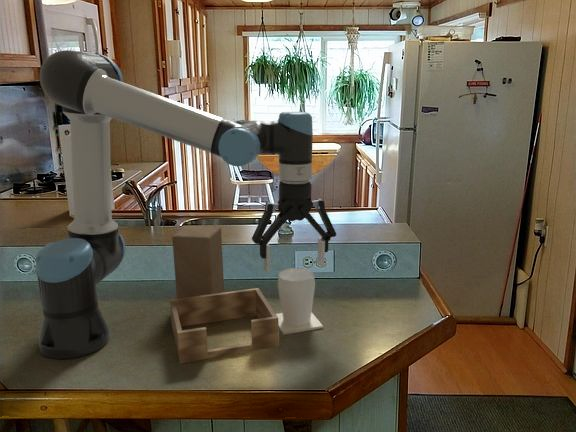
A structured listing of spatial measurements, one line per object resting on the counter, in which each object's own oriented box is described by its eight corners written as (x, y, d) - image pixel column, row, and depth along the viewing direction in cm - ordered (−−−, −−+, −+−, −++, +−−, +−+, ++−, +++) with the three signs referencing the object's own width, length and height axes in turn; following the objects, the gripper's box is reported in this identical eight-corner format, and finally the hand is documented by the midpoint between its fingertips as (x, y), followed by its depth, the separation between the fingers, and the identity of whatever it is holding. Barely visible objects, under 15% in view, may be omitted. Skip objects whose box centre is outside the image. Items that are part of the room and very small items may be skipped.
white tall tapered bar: (102, 204, 252) (93, 120, 242) (114, 209, 242) (105, 122, 231) (59, 211, 239) (48, 123, 229) (70, 217, 229) (59, 125, 219)
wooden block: (212, 311, 136) (208, 237, 131) (176, 308, 138) (171, 235, 133) (225, 295, 146) (221, 226, 140) (191, 293, 147) (186, 225, 142)
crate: (180, 363, 112) (177, 333, 110) (172, 326, 128) (169, 299, 126) (279, 346, 118) (278, 317, 116) (259, 313, 134) (258, 287, 133)
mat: (283, 334, 123) (283, 332, 123) (271, 316, 132) (271, 314, 132) (322, 328, 126) (322, 325, 126) (308, 310, 135) (308, 308, 135)
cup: (290, 309, 135) (289, 265, 132) (321, 317, 130) (321, 271, 127) (271, 323, 127) (270, 277, 124) (303, 332, 123) (303, 284, 120)
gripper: (245, 187, 113) (247, 278, 118) (352, 180, 120) (348, 267, 126) (238, 180, 120) (240, 267, 125) (339, 175, 127) (336, 257, 133)
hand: (294, 267), depth 125 cm, fingers open, 13 cm apart
